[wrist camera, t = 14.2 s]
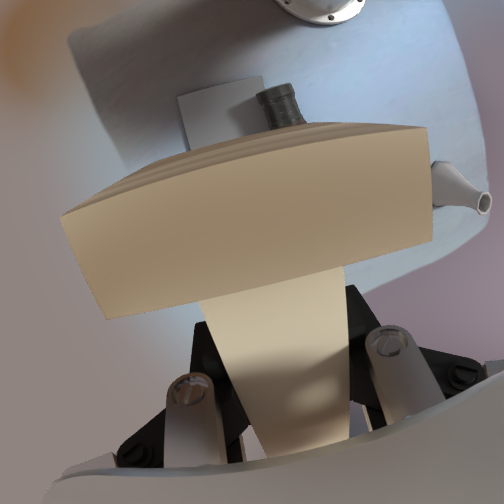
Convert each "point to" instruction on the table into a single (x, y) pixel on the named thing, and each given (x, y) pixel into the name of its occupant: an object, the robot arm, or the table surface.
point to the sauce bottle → (280, 106)
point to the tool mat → (223, 112)
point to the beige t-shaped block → (263, 255)
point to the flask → (456, 189)
